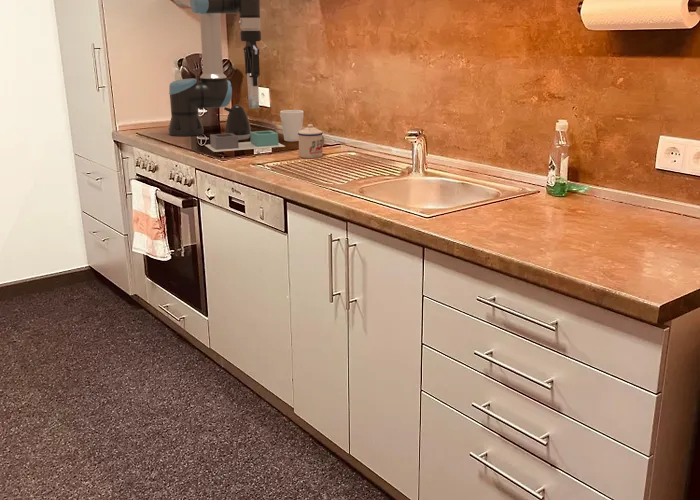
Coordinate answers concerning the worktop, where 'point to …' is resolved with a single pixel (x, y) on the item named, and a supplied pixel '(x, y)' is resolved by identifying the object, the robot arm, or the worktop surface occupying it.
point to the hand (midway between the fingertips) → (253, 94)
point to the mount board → (231, 143)
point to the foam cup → (291, 124)
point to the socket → (264, 138)
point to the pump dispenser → (238, 122)
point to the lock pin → (252, 99)
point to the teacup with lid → (310, 142)
